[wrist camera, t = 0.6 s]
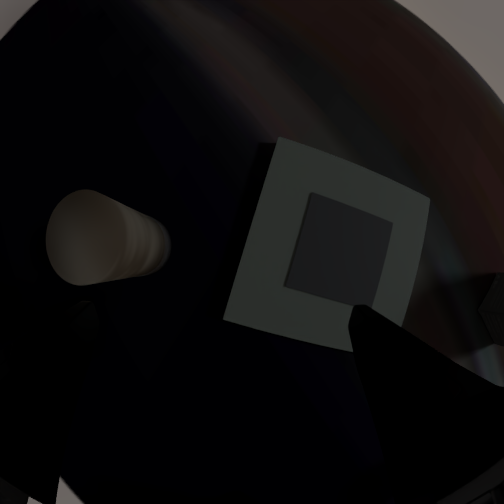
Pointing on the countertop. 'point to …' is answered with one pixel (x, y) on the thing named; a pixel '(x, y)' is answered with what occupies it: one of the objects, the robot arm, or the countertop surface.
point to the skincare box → (494, 310)
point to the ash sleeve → (103, 240)
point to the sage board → (326, 248)
